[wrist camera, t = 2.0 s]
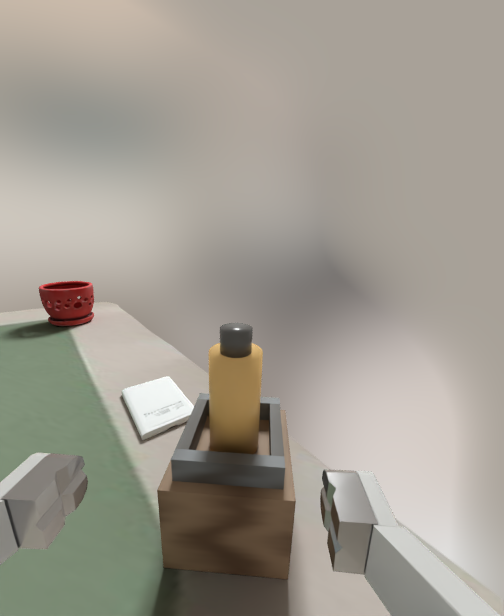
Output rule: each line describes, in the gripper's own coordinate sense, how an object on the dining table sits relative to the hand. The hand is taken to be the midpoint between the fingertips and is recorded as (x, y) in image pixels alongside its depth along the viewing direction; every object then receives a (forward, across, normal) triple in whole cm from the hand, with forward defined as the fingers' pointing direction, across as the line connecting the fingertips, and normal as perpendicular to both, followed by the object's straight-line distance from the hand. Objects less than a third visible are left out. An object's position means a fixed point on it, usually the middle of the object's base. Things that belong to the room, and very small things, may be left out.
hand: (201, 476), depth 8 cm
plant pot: (+64, +58, +17) cm, 88 cm away
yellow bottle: (+12, 0, +10) cm, 16 cm away
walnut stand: (+12, +1, +18) cm, 22 cm away
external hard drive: (+28, +15, +18) cm, 36 cm away
